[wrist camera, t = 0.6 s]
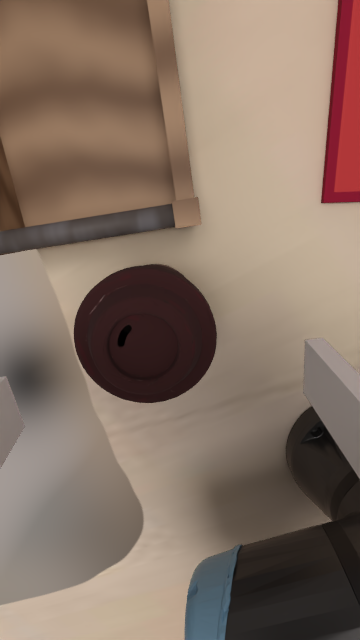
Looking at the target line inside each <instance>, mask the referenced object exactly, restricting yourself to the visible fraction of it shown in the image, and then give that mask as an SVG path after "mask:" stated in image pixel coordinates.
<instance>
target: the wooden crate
mask: <svg viewBox="0 0 360 640" xmlns="http://www.w3.org/2000/svg"><path fill="white" fill-rule="evenodd" d="M195 225H201V217H200V209H199V201H198V197H195V198H194V191H193V184H192V176H191V168H190V161H189V153H188V145H187V138H186V130H185V123H184V115H183V107H182V100H181V92H180V84H179V77H178V69H177V62H176V54H175V46H174V39H173V31H172V23H171V16H170V8H169V1H168V0H0V255H4V254H10V253H15V252H20V251H25V250H32V249H38V248H44V247H51V246H57V245H63V244H70V243H76V242H82V241H89V240H95V239H101V238H108V237H114V236H120V235H127V234H133V233H139V232H146V231H152V230H158V229H165V228H171V227H176V228H182V227H188V226H195Z"/></svg>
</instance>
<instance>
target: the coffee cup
mask: <svg viewBox="0 0 360 640" xmlns="http://www.w3.org/2000/svg"><path fill="white" fill-rule="evenodd" d="M216 339H217V333H216V325H215V321H214V318H213V314H212V312H211V309H210V307H209V304H208V303H207V301H206V299H205V298H204V296H203V295H202V293H201V292H200V291H199V290H198V289H197V288H196V287H195V286H194V285H193V284H192V283H191V282H190V281H188V280H187V279H186V278H185V277H184V276H183V275H182V274H181V273H179V272H178V271H177V270H175V269H173V268H171V267H169V266H166V265H161V264H151V265H144V266H134V267H130V268H125V269H123V270H120V271H117V272H115V273H113V274H111V275H109V276H108V277H106V278H105V279H103V280H102V281H101V282H99V283H98V284H97V285H96V286H95V287H94V288H93V289H92V290H91V291H90V292H89V293H88V294H87V295H86V297H85V298H84V300H83V301H82V303H81V305H80V307H79V310H78V312H77V315H76V319H75V325H74V342H75V348H76V352H77V355H78V357H79V360H80V362H81V364H82V366H83V368H84V369H85V371H86V372H87V374H88V375H89V376H90V377H91V378H92V379H93V380H94V381H95V382H96V383H97V384H98V385H99V386H100V387H101V388H103V389H104V390H106V391H107V392H109V393H111V394H113V395H115V396H117V397H119V398H122V399H125V400H129V401H133V402H139V403H154V402H161V401H166V400H169V399H172V398H175V397H178V396H179V395H181V394H183V393H185V392H186V391H188V390H189V389H191V388H192V387H193V386H195V385H196V384H197V383H198V382H199V381H200V380H201V378H202V377H203V376H204V375H205V373H206V372H207V370H208V368H209V366H210V364H211V362H212V360H213V357H214V354H215V349H216Z"/></svg>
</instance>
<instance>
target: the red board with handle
mask: <svg viewBox="0 0 360 640" xmlns="http://www.w3.org/2000/svg"><path fill="white" fill-rule="evenodd" d="M334 202H360V0H339V1H338V13H337V24H336V36H335V48H334V60H333V71H332V83H331V95H330V107H329V118H328V130H327V142H326V153H325V165H324V177H323V189H322V200H321V203H334Z"/></svg>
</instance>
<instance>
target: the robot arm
mask: <svg viewBox="0 0 360 640" xmlns="http://www.w3.org/2000/svg"><path fill="white" fill-rule="evenodd" d="M303 393H304V394H305V396H306V397H307V399H308V400H309V402H310V404H311V405H312V407H311V408H309V409H308V410H307V411H306V412H305V413H304V414H303V415H302V416H301V417H300V418H299V419H298V420H297V422H296V423H295V425H294V426H293V428H292V430H291V432H290V435H289V437H288V441H287V447H286V456H287V461H288V465H289V467H290V470H291V472H292V474H293V476H294V479H295V481H296V483H297V484H298V486H299V487H300V489H301V490H302V491H303V492H304V493H305V494H306V495H307V496H308V497H309V498H310V499H311V500H312V501H313V502H314V503H315V504H316V505H317V506H318V507H319V508H320V509H321V510H322V511H323V512H324V513H325V514H326V515H327V516H328V517H329V518H330V519H331V520H332V522H329V523H325V524H322V525H316V526H313V527H309V528H305V529H302V530H298V531H295V532H291V533H287V534H284V535H280V536H276V537H273V538H269V539H265V540H262V541H258V542H255V543H251V544H247V545H244V546H243V545H237V546H235V547H234V549H232V550H229V551H226V552H223V553H220V554H217V555H214V556H211V557H208V558H206V559H204V560H203V561H202V562H201V563H200V564H199V565H198V566H197V567H196V569H195V571H194V573H193V575H192V578H191V581H190V585H189V589H188V595H187V604H186V614H185V640H360V374H359V373H358V372H357V371H356V370H355V369H354V368H353V367H352V366H351V365H350V364H349V363H348V362H347V361H346V360H345V359H344V358H343V357H342V356H341V355H340V354H339V353H338V352H337V351H336V350H335V349H334V348H333V347H332V346H331V345H330V344H329V343H328V342H327V341H326V340H325V339H324V338H316V339H307V340H305V358H304V388H303ZM24 427H25V425H24V422H23V420H22V417H21V415H20V412H19V409H18V406H17V404H16V401H15V398H14V396H13V393H12V390H11V388H10V385H9V382H8V380H7V377H6V376H4V377H0V468H1V467H2V465H3V463H4V462H5V460H6V458H7V456H8V455H9V453H10V451H11V449H12V448H13V446H14V444H15V442H16V440H17V439H18V437H19V436H20V434H21V432H22V430H23V429H24Z"/></svg>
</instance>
